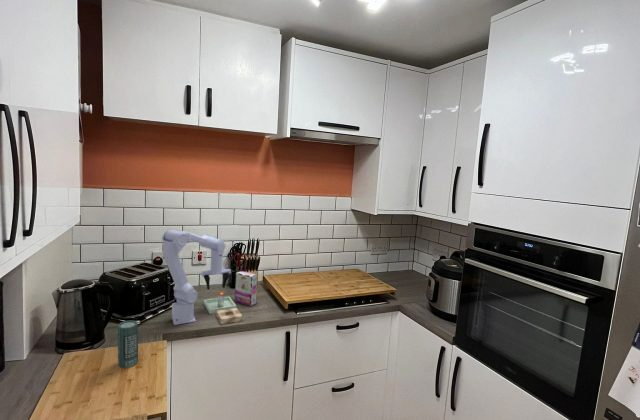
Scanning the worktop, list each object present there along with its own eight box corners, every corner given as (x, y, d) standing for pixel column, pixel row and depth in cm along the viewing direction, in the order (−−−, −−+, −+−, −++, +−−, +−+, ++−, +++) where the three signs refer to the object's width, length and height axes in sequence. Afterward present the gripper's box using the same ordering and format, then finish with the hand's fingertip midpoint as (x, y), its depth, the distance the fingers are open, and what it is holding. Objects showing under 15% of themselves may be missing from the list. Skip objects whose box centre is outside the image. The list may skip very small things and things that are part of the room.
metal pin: (217, 308, 174) (217, 294, 173) (215, 305, 177) (215, 291, 176) (225, 307, 176) (225, 293, 175) (223, 304, 179) (223, 290, 178)
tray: (209, 314, 168) (209, 309, 168) (204, 304, 179) (204, 299, 179) (236, 310, 175) (236, 305, 174) (229, 300, 186) (229, 296, 186)
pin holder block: (221, 324, 159) (221, 319, 159) (216, 315, 167) (216, 310, 167) (242, 320, 164) (242, 315, 164) (236, 312, 172) (236, 307, 172)
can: (133, 356, 129) (133, 318, 128) (140, 363, 126) (140, 324, 124) (115, 362, 125) (115, 324, 123) (122, 370, 121) (122, 330, 119)
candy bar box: (256, 303, 185) (257, 274, 183) (250, 306, 180) (251, 276, 178) (240, 298, 190) (241, 270, 188) (234, 301, 185) (235, 272, 183)
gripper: (203, 265, 167) (202, 292, 168) (233, 263, 174) (232, 289, 176) (200, 261, 173) (200, 287, 175) (229, 259, 180) (228, 284, 182)
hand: (215, 288), depth 176 cm, fingers open, 7 cm apart
